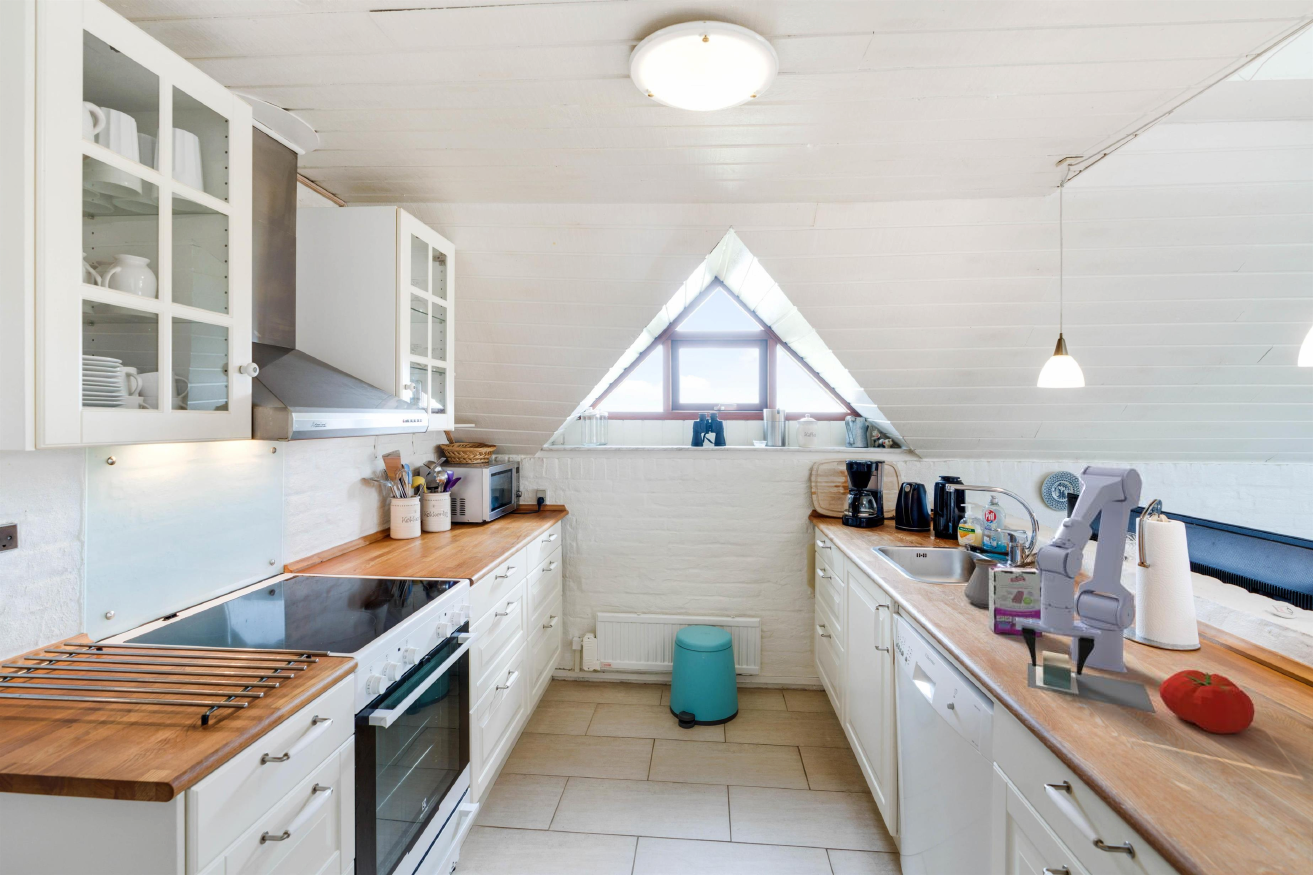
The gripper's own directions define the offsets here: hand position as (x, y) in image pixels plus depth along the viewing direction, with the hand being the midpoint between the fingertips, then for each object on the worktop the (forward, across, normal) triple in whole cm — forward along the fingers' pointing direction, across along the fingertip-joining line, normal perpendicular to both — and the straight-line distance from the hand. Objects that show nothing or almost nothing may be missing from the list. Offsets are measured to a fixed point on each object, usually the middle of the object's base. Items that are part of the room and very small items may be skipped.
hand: (1056, 668), depth 121 cm
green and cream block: (+2, 0, 0) cm, 2 cm away
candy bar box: (+3, -8, +29) cm, 30 cm away
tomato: (+3, +22, -6) cm, 23 cm away
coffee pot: (+3, -11, +53) cm, 54 cm away
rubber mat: (+3, +5, 0) cm, 6 cm away
